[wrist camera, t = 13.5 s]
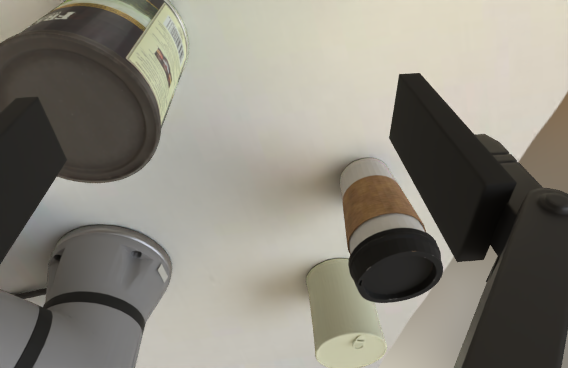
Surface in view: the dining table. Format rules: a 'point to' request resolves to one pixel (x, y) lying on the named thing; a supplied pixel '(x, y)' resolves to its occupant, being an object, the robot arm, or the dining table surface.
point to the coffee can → (99, 80)
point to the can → (342, 318)
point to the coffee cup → (385, 236)
